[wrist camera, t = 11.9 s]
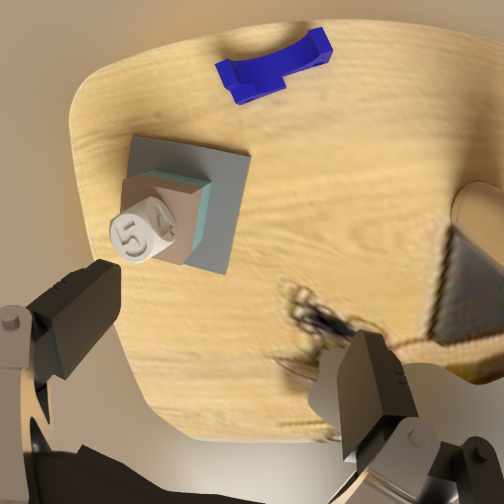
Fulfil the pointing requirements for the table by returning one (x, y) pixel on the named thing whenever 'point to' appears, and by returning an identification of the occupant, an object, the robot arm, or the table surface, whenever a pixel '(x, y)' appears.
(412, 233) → the table surface
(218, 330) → the table surface
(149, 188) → the brick tower
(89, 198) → the table surface
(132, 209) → the die
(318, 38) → the blue saddle bracket
